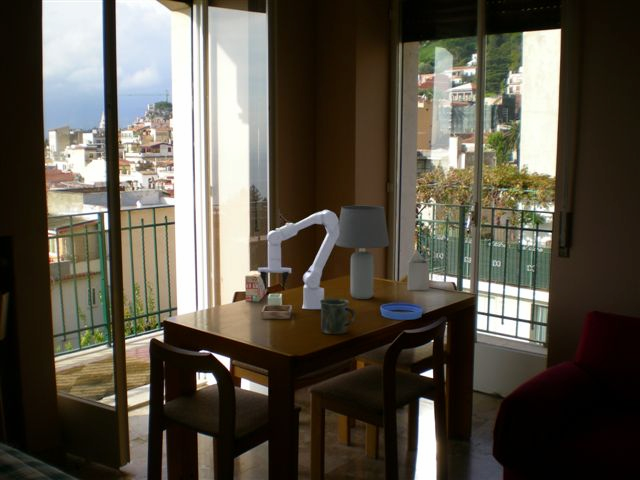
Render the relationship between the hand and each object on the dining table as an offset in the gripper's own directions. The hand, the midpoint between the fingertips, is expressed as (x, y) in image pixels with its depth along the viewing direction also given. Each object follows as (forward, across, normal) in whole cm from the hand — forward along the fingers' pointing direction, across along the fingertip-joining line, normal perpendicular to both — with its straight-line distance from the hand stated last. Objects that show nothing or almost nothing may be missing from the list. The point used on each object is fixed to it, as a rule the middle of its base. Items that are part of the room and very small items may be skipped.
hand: (274, 288), depth 302 cm
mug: (+9, -28, +36) cm, 47 cm away
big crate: (+9, -2, +12) cm, 15 cm away
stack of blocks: (+9, +11, -25) cm, 29 cm away
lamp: (+9, -39, -24) cm, 47 cm away
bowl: (+9, -55, +8) cm, 57 cm away
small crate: (+9, 0, 0) cm, 9 cm away
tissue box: (+9, -70, -46) cm, 85 cm away
